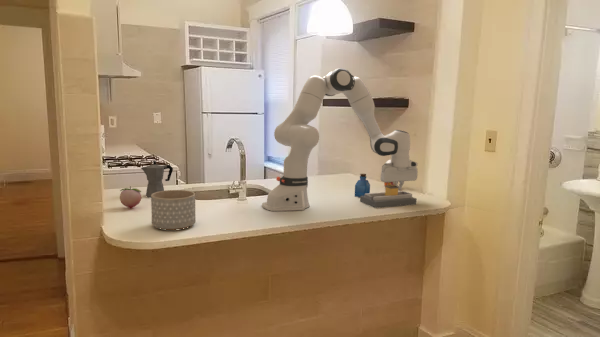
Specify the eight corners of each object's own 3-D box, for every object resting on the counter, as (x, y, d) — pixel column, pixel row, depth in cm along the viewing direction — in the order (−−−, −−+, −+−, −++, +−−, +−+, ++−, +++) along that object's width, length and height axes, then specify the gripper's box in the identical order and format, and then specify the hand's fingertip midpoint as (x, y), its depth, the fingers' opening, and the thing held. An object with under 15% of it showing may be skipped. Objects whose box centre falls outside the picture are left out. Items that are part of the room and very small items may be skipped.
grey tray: (375, 208, 211) (375, 198, 210) (359, 201, 224) (360, 192, 223) (416, 204, 221) (416, 195, 220) (399, 198, 233) (399, 189, 233)
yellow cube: (390, 197, 219) (391, 187, 218) (384, 195, 224) (385, 185, 223) (398, 197, 221) (398, 186, 220) (391, 195, 226) (392, 185, 225)
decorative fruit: (117, 210, 194) (117, 188, 193) (121, 206, 202) (120, 184, 201) (140, 210, 196) (139, 188, 194) (143, 206, 204) (142, 184, 202)
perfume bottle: (354, 196, 236) (355, 174, 234) (358, 194, 241) (359, 172, 239) (365, 198, 233) (366, 175, 231) (369, 195, 238) (370, 173, 236)
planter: (160, 234, 163) (159, 200, 161) (146, 223, 176) (145, 192, 174) (202, 227, 172) (202, 195, 170) (186, 218, 185) (185, 188, 183)
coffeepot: (143, 198, 218) (141, 162, 215) (140, 195, 226) (139, 160, 223) (175, 196, 225) (174, 161, 222) (171, 193, 233) (171, 159, 230)
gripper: (386, 164, 214) (384, 192, 216) (420, 163, 223) (418, 190, 225) (378, 162, 220) (377, 189, 222) (412, 161, 228) (410, 187, 230)
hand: (398, 190), depth 223 cm, fingers closed
